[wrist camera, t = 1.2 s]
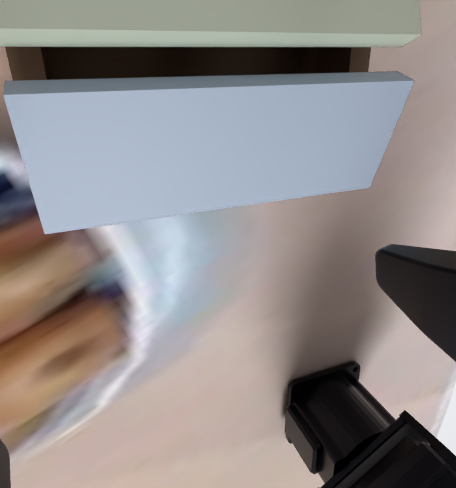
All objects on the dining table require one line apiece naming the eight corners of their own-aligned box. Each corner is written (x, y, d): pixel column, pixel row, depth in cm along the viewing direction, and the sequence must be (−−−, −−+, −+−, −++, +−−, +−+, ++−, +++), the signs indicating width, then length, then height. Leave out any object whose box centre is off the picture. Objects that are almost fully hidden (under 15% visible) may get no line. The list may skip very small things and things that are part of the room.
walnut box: (313, -47, 19) (385, -84, 14) (302, 157, 23) (356, 175, 19) (-6, -75, 14) (-39, -143, 10) (50, 184, 18) (43, 215, 14)
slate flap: (397, 71, 15) (414, 80, 14) (357, 176, 18) (369, 187, 18) (5, 80, 11) (3, 94, 10) (44, 216, 14) (44, 234, 13)
